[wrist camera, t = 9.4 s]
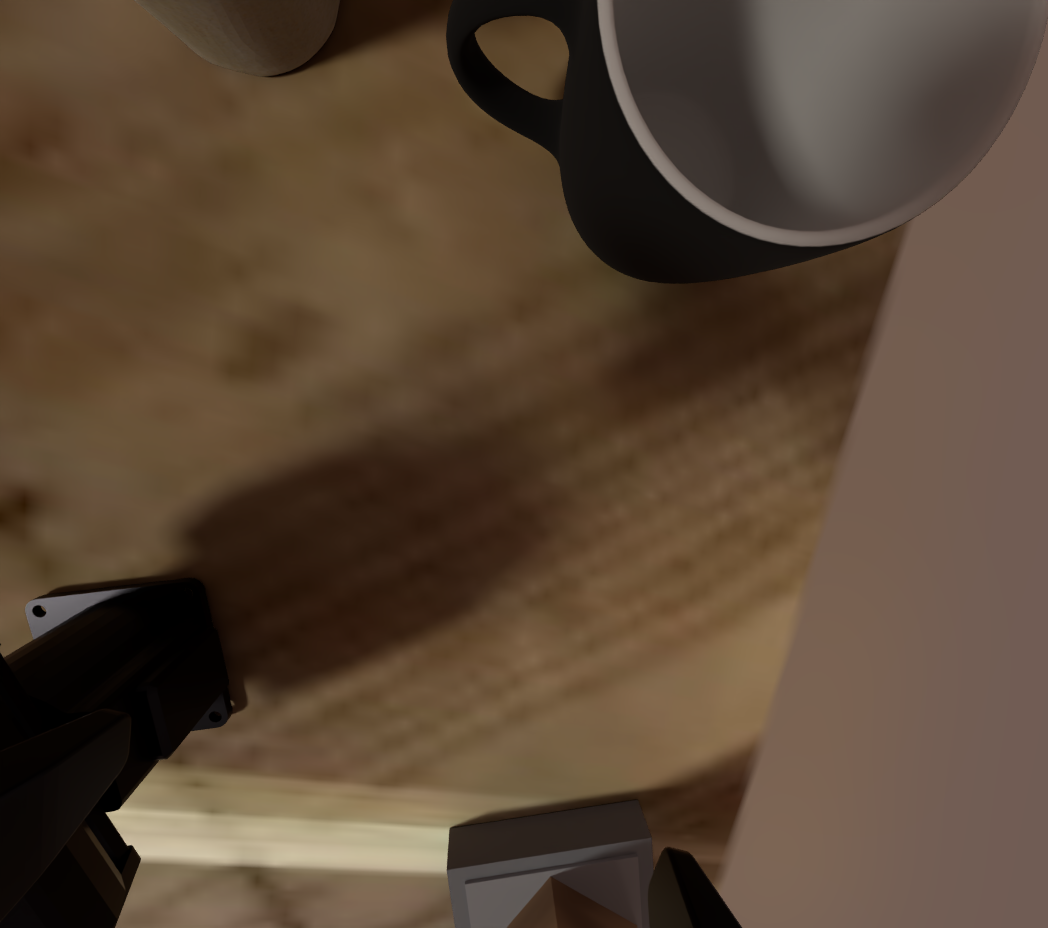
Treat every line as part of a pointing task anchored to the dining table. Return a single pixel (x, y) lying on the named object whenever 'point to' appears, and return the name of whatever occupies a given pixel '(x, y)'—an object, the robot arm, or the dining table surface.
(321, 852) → the dining table surface
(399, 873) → the dining table surface
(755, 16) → the mug
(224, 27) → the flower pot
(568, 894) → the brown tall rectangular block
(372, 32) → the dining table surface
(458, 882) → the slate base
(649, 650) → the dining table surface
